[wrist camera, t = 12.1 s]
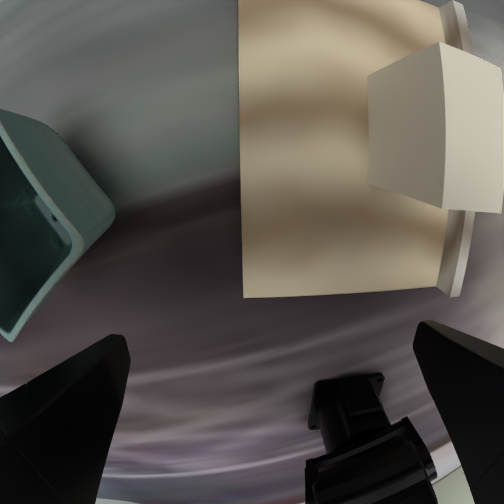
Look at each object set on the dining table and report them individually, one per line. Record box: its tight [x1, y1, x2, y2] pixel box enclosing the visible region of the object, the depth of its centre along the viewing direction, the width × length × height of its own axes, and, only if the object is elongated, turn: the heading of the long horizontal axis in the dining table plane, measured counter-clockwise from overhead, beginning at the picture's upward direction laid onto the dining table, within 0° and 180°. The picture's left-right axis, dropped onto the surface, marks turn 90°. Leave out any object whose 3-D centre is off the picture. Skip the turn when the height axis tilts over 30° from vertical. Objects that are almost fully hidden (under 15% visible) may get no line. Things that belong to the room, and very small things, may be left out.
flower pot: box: [0, 109, 116, 342], centre depth 14 cm, size 9×9×9 cm
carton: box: [367, 42, 504, 213], centre depth 13 cm, size 4×7×8 cm, turn 0°
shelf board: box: [238, 0, 475, 298], centre depth 16 cm, size 22×16×3 cm
